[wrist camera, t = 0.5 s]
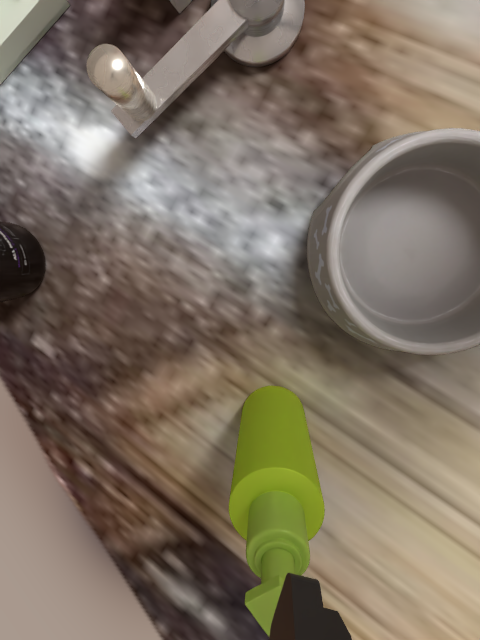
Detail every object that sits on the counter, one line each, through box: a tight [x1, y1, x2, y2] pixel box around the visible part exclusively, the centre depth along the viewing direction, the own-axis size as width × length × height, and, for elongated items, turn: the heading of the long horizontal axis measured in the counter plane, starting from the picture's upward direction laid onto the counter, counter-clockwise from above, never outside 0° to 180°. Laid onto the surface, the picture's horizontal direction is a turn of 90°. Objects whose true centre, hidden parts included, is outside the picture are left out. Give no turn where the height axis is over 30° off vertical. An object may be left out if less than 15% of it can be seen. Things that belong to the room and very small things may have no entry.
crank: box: [87, 0, 285, 138], centre depth 25 cm, size 15×4×8 cm, turn 130°
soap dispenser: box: [229, 386, 325, 636], centre depth 26 cm, size 6×7×20 cm
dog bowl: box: [307, 128, 480, 355], centre depth 30 cm, size 17×18×5 cm
